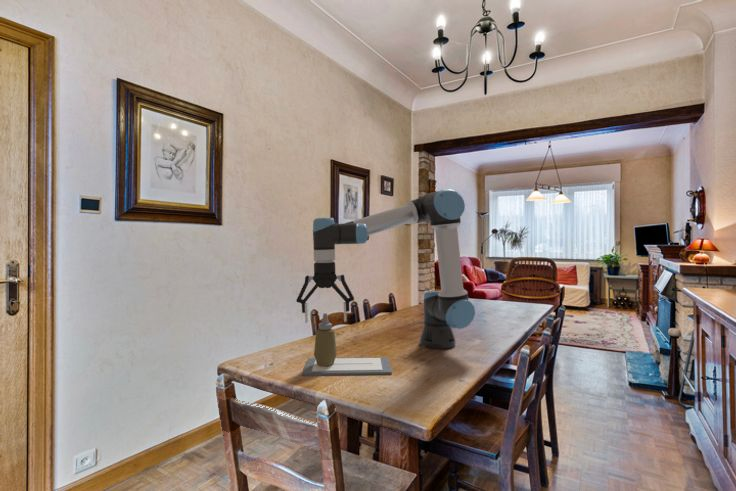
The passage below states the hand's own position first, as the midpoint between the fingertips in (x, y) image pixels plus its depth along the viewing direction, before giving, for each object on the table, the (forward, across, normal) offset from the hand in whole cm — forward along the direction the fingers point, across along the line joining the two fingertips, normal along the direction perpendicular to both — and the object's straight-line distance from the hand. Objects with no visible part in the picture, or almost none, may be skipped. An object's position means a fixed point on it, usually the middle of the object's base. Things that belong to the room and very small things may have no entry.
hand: (326, 321), depth 137 cm
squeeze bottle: (+15, +1, 0) cm, 15 cm away
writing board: (+16, -7, 0) cm, 18 cm away
